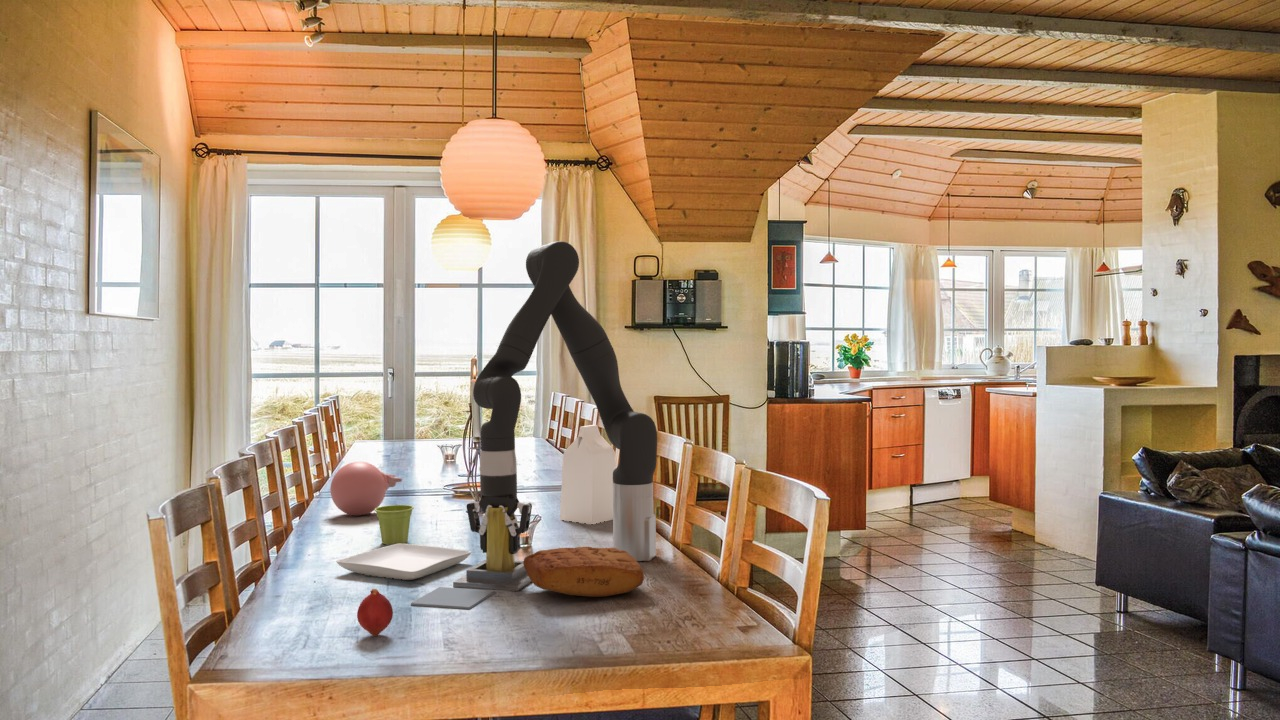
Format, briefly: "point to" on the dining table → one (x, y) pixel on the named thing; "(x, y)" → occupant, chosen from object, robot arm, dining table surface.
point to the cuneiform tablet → (584, 571)
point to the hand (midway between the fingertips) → (500, 552)
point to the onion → (375, 613)
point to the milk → (588, 478)
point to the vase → (498, 541)
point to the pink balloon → (360, 488)
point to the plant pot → (394, 523)
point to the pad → (453, 598)
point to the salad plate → (403, 561)
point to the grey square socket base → (494, 578)
